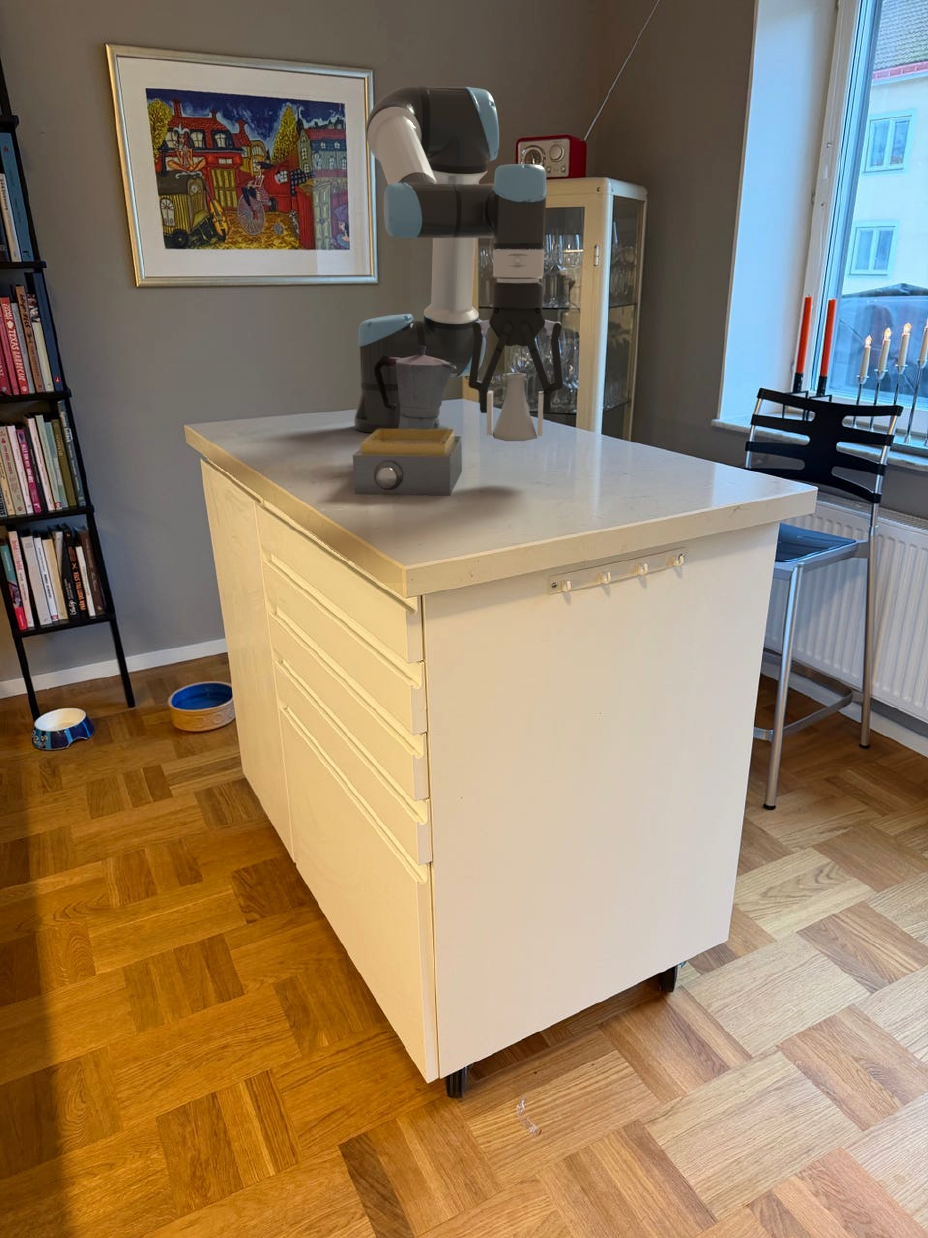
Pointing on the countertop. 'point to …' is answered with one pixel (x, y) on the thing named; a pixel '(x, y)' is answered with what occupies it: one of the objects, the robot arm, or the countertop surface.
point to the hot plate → (408, 462)
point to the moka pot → (417, 388)
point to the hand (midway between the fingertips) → (514, 433)
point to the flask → (515, 413)
